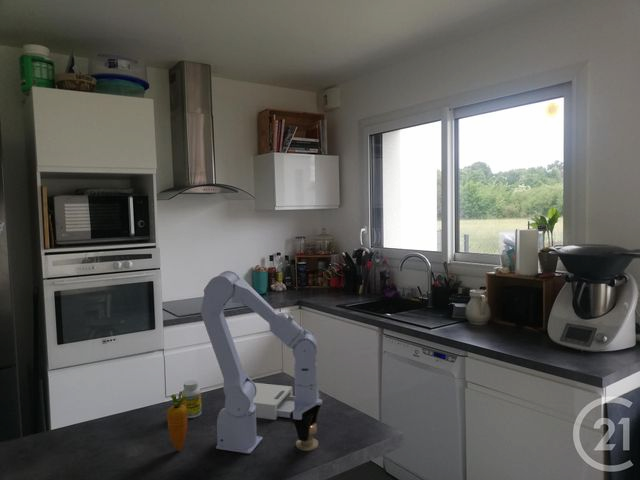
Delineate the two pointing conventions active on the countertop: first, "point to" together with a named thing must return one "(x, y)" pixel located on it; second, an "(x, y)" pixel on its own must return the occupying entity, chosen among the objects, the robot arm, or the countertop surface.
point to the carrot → (177, 421)
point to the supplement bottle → (192, 398)
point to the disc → (312, 429)
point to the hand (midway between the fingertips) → (306, 434)
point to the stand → (307, 444)
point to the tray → (287, 406)
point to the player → (269, 399)
